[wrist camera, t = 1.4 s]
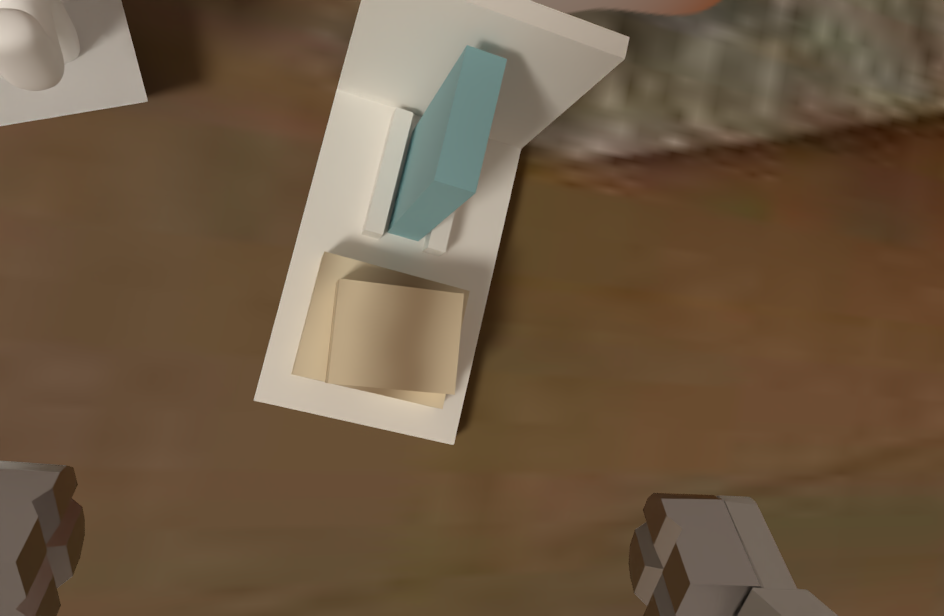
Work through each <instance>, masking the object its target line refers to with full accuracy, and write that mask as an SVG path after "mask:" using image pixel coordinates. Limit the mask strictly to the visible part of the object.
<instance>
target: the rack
mask: <svg viewBox="0 0 944 616" xmlns="http://www.w3.org/2000/svg"><path fill="white" fill-rule="evenodd" d="M629 38H630V37H628V36H625V35H622V34H620V33H617V32H614V31H612V30H609V29H606V28H604V27H601V26H598V25H596V24H593V23H590V22H588V21H585V20H582V19H579V18H577V17H574V16H571V15H569V14H566V13H563V12H561V11H558V10H555V9H553V8H550V7H547V6H545V5H542V4H539V3H536V2H534V1H531V0H361V3H360V7H359V10H358V14H357V18H356V21H355V25H354V29H353V32H352V36H351V39H350V43H349V47H348V50H347V54H346V58H345V61H344V65H343V68H342V72H341V76H340V79H339V83H338V87H337V91H336V94H335V98H334V102H333V106H332V109H331V113H330V117H329V121H328V124H327V128H326V132H325V136H324V139H323V143H322V147H321V150H320V154H319V158H318V162H317V165H316V169H315V173H314V177H313V180H312V184H311V188H310V192H309V195H308V199H307V203H306V207H305V210H304V214H303V218H302V221H301V225H300V229H299V233H298V236H297V240H296V244H295V248H294V251H293V255H292V259H291V263H290V266H289V270H288V274H287V278H286V281H285V285H284V289H283V293H282V296H281V300H280V304H279V307H278V311H277V315H276V319H275V322H274V326H273V330H272V334H271V337H270V341H269V345H268V349H267V352H266V356H265V360H264V364H263V367H262V371H261V375H260V379H259V382H258V386H257V390H256V393H255V397H254V401H259V402H263V403H268V404H272V405H277V406H281V407H286V408H290V409H295V410H299V411H304V412H308V413H313V414H317V415H322V416H326V417H331V418H335V419H339V420H344V421H348V422H353V423H357V424H362V425H366V426H371V427H375V428H380V429H384V430H389V431H393V432H398V433H402V434H407V435H411V436H416V437H420V438H425V439H429V440H434V441H438V442H443V443H447V444H452V445H454V441H455V437H456V433H457V428H458V424H459V420H460V415H461V411H462V406H463V402H464V398H465V393H466V389H467V384H468V380H469V376H470V371H471V367H472V362H473V358H474V354H475V349H476V345H477V341H478V336H479V332H480V327H481V323H482V319H483V314H484V310H485V305H486V301H487V297H488V292H489V288H490V283H491V279H492V275H493V270H494V266H495V262H496V257H497V253H498V248H499V244H500V240H501V235H502V231H503V226H504V222H505V218H506V213H507V209H508V204H509V200H510V196H511V191H512V187H513V183H514V178H515V174H516V169H517V165H518V161H519V156H520V152H521V149H522V148H523V147H524V146H525V145H526V144H527V143H529V142H530V141H531V140H532V139H533V138H534V137H535V136H537V135H538V134H539V133H540V132H541V131H542V130H544V129H545V128H546V127H547V126H548V125H549V124H550V123H552V122H553V121H554V120H555V119H556V118H557V117H559V116H560V115H561V114H562V113H563V112H564V111H565V110H567V109H568V108H569V107H570V106H571V105H572V104H574V103H575V102H576V101H577V100H578V99H579V98H580V97H582V96H583V95H584V94H585V93H586V92H587V91H589V90H590V89H591V88H592V87H593V86H594V85H595V84H597V83H598V82H599V81H600V80H601V79H602V78H604V77H605V76H606V75H607V74H608V73H609V72H611V71H612V70H613V69H614V68H615V67H616V66H617V65H619V64H620V63H621V62H622V61H623V60H624V59H625V57H626V52H627V47H628V42H629ZM467 45H468V46H471V47H474V48H477V49H480V50H483V51H486V52H488V53H491V54H494V55H497V56H500V57H503V58H506V59H507V61H506V66H505V70H504V74H503V79H502V83H501V87H500V91H499V96H498V100H497V104H496V108H495V113H494V117H493V121H492V125H491V130H490V134H489V138H488V142H487V147H486V151H485V155H484V159H483V164H482V168H481V172H480V176H479V181H478V185H477V189H476V193H475V194H474V195H473V196H472V197H470V198H469V199H468V200H467V201H466V202H464V203H463V204H462V205H461V206H460V207H458V208H457V209H456V210H455V211H454V212H453V213H451V214H450V215H449V216H448V217H447V218H445V219H444V220H443V221H442V222H441V223H440V224H438V225H437V226H436V227H435V228H434V229H432V230H431V231H430V232H429V233H428V234H426V235H425V236H424V237H423V238H422V239H421V240H419V241H415V240H411V239H408V238H404V237H401V236H397V235H394V234H390V233H387V231H388V227H389V223H390V219H391V215H392V211H393V207H394V203H395V199H396V195H397V191H398V187H399V183H400V179H401V175H402V171H403V167H404V163H405V159H406V155H407V151H408V147H409V143H410V139H411V135H412V131H413V130H414V128H415V127H416V125H417V123H418V122H419V120H420V119H421V117H422V116H423V114H424V112H425V111H426V109H427V108H428V106H429V104H430V103H431V101H432V100H433V98H434V97H435V95H436V93H437V92H438V90H439V89H440V87H441V85H442V84H443V82H444V81H445V79H446V77H447V76H448V74H449V73H450V71H451V70H452V68H453V66H454V65H455V63H456V62H457V60H458V58H459V57H460V55H461V54H462V52H463V50H464V49H465V47H466V46H467ZM324 251H325V252H329V253H332V254H336V255H340V256H343V257H347V258H351V259H354V260H358V261H362V262H365V263H369V264H373V265H376V266H380V267H384V268H387V269H391V270H395V271H398V272H402V273H406V274H409V275H413V276H417V277H420V278H424V279H428V280H431V281H435V282H439V283H442V284H446V285H450V286H453V287H457V288H461V289H464V290H468V291H470V293H469V297H468V301H467V306H466V310H465V314H464V319H463V323H462V327H461V332H460V343H459V354H458V365H457V376H456V387H455V395H452V394H446V396H445V401H444V405H443V409H439V408H434V407H429V406H425V405H421V404H417V403H412V402H408V401H404V400H399V399H395V398H391V397H387V396H382V395H378V394H374V393H369V392H365V391H361V390H357V389H352V388H348V387H344V386H340V385H335V384H329V383H325V382H322V381H318V380H314V379H310V378H305V377H301V376H297V375H292V374H291V372H292V368H293V365H294V361H295V357H296V353H297V349H298V346H299V342H300V338H301V334H302V330H303V326H304V323H305V319H306V315H307V311H308V307H309V304H310V300H311V296H312V292H313V288H314V284H315V281H316V277H317V273H318V269H319V265H320V261H321V258H322V255H323V253H324Z"/></svg>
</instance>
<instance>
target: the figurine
mask: <svg viewBox="0 0 944 616" xmlns="http://www.w3.org/2000/svg"><path fill="white" fill-rule="evenodd" d="M142 102H148V100H147V96H146V92H145V88H144V84H143V81H142V77H141V73H140V69H139V66H138V62H137V58H136V54H135V50H134V47H133V43H132V39H131V35H130V31H129V28H128V24H127V20H126V16H125V12H124V9H123V5H122V1H121V0H0V126H4V125H10V124H16V123H22V122H28V121H34V120H40V119H46V118H52V117H58V116H64V115H70V114H76V113H82V112H88V111H94V110H100V109H106V108H112V107H118V106H124V105H130V104H136V103H142Z"/></svg>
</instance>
